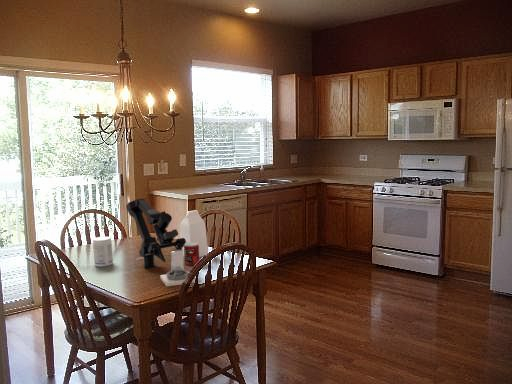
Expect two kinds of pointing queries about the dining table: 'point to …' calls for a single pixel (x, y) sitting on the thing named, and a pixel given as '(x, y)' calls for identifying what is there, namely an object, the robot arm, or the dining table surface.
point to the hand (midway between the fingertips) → (173, 260)
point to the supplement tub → (102, 251)
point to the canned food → (191, 253)
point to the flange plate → (170, 282)
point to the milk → (194, 231)
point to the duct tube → (177, 262)
